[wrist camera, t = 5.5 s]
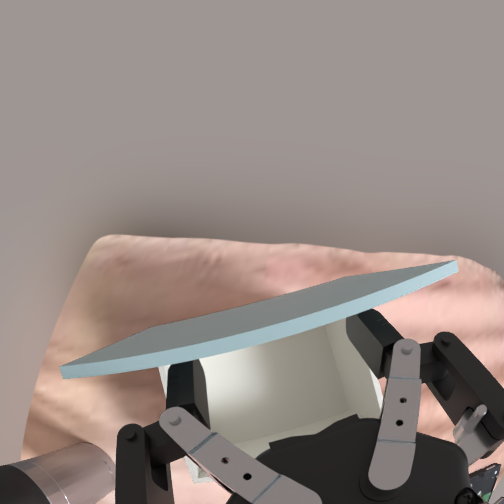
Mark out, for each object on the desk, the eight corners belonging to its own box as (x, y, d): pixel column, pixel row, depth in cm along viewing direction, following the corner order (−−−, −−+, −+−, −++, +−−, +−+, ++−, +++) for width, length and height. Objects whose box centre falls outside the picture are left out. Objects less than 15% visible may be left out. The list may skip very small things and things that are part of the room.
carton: (210, 450, 31) (193, 483, 20) (180, 342, 37) (151, 333, 25) (351, 410, 33) (389, 426, 22) (320, 305, 39) (347, 282, 27)
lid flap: (63, 378, 10) (59, 366, 10) (152, 333, 26) (150, 327, 26) (458, 271, 12) (456, 260, 12) (346, 282, 27) (345, 276, 28)
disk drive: (460, 476, 26) (439, 534, 21) (468, 479, 24) (446, 538, 18) (493, 461, 26) (474, 517, 20) (502, 463, 23) (481, 520, 18)
